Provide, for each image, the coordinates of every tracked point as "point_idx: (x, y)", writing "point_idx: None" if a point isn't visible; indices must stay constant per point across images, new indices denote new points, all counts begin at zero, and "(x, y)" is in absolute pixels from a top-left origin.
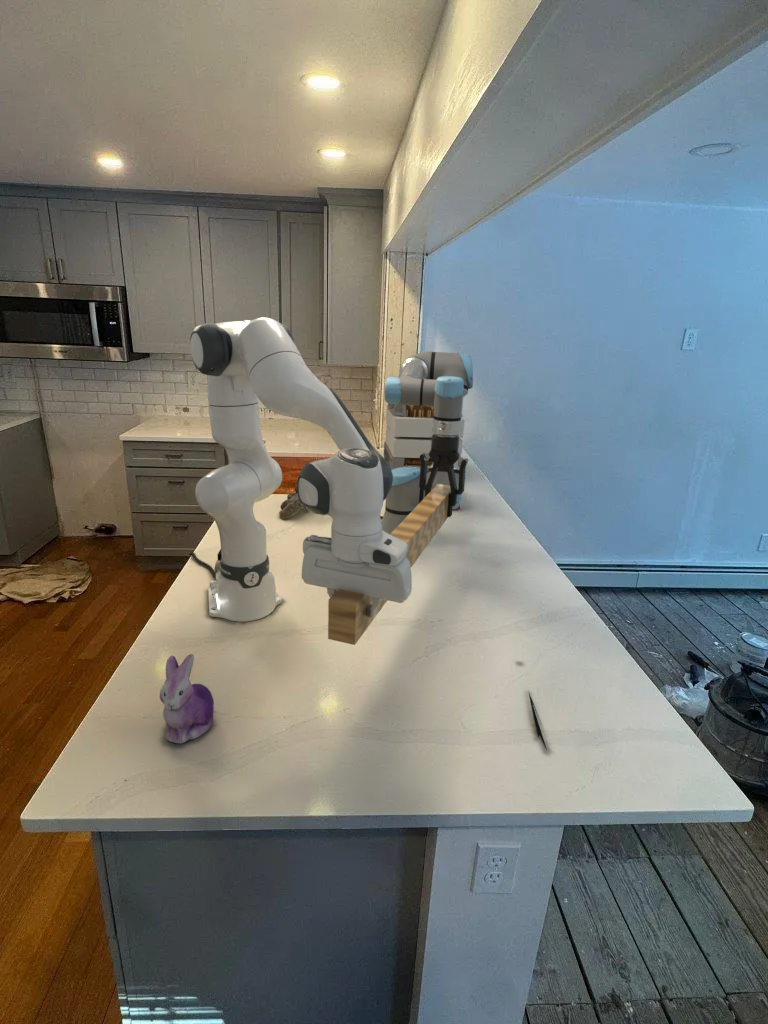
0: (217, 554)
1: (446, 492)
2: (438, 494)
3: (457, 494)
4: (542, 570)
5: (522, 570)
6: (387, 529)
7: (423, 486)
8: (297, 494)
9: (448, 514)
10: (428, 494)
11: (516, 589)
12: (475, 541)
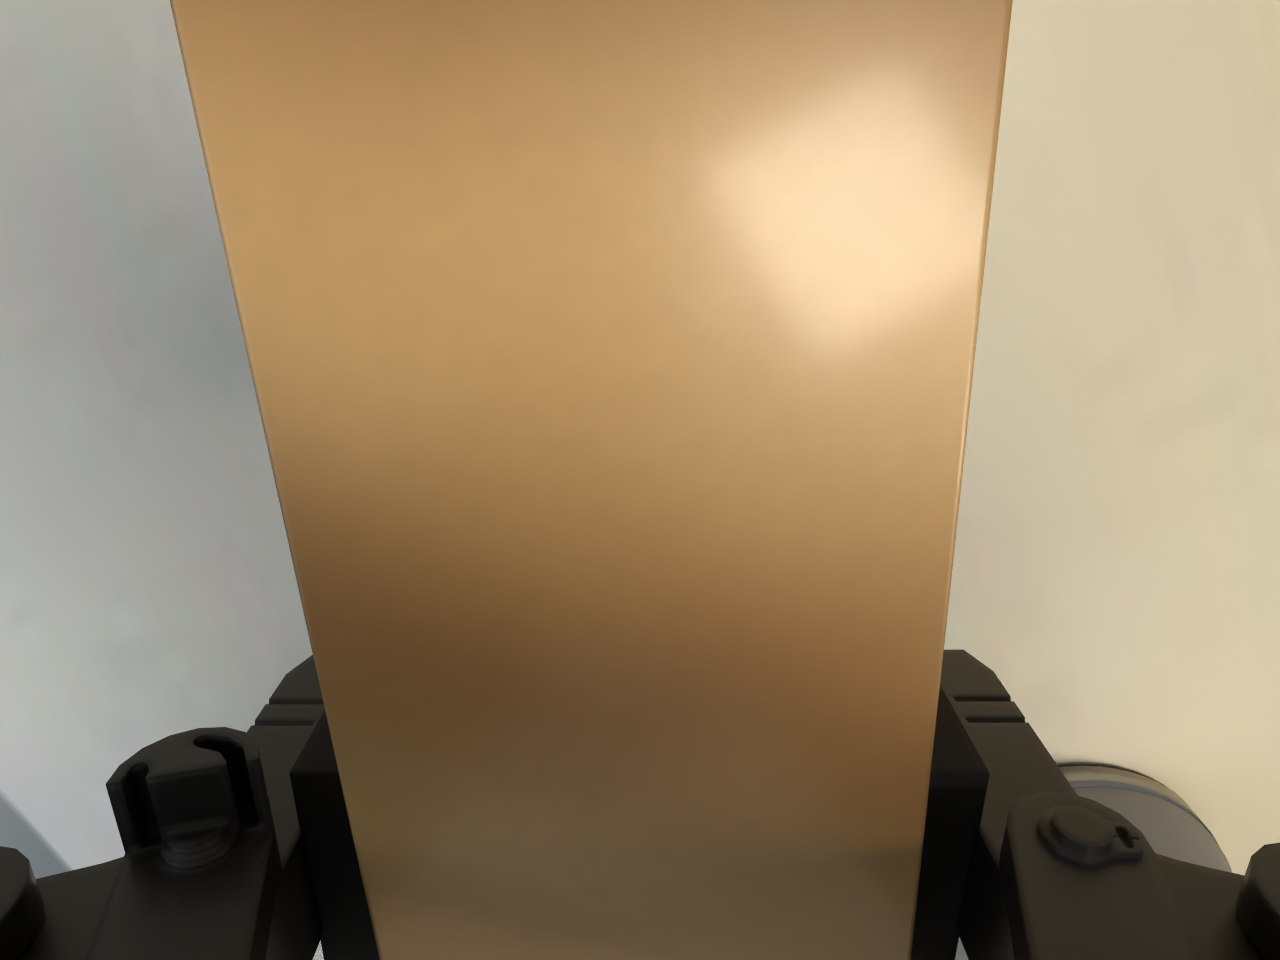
0: None
1: (431, 841)
2: (590, 542)
3: (114, 861)
4: (16, 732)
5: (124, 681)
6: (1166, 822)
7: (1250, 930)
8: None
9: None
10: (941, 363)
11: (38, 389)
12: None
